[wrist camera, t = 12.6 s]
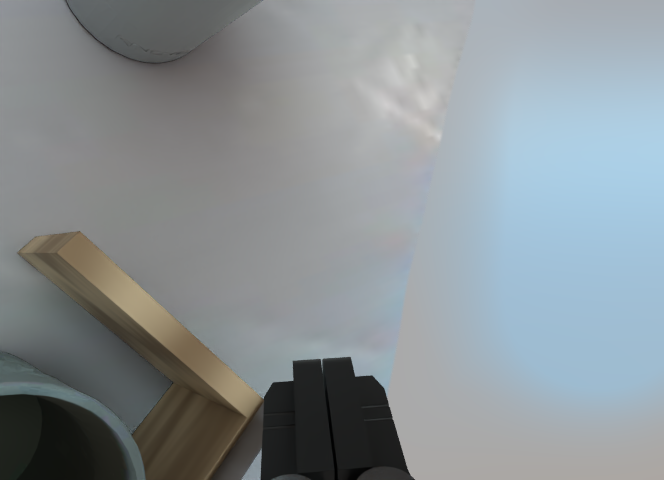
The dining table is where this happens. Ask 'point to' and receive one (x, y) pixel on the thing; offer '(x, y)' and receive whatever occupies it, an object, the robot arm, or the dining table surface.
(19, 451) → the green ceramic pot
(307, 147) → the dining table surface
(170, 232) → the dining table surface
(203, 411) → the oak caddy
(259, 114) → the dining table surface
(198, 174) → the dining table surface
